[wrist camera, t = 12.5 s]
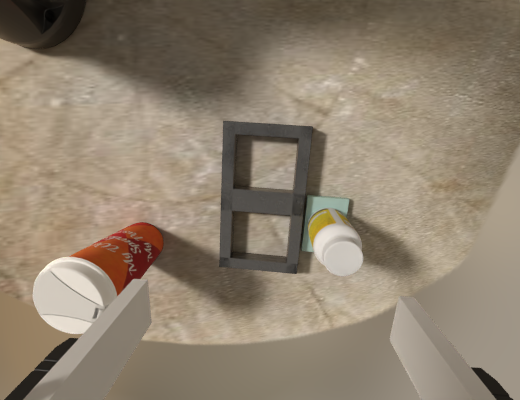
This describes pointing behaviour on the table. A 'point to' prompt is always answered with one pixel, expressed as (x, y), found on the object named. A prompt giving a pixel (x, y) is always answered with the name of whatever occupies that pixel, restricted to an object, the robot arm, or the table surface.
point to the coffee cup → (94, 277)
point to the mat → (316, 204)
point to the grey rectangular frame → (262, 197)
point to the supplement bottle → (335, 242)
